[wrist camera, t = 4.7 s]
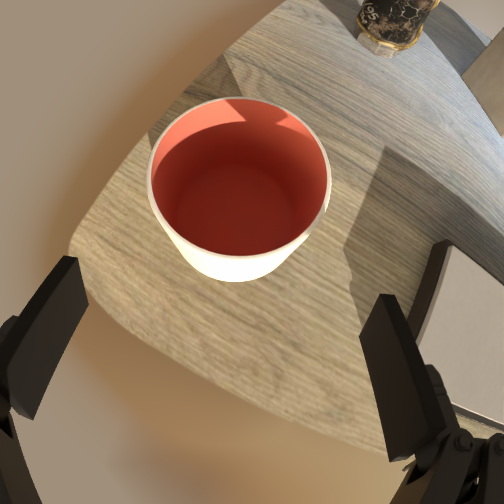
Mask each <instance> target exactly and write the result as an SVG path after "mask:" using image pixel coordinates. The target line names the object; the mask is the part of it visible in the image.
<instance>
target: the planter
mask: <svg viewBox="0 0 504 504" xmlns="http://www.w3.org/2000/svg"><path fill="white" fill-rule="evenodd" d="M461 78H462V79H463V81H464V82H465V83H466V85H467V86H468V87H469V89H470V90H471V92H472V93H473V95H474V96H475V97H476V99H477V100H478V102H479V103H480V105H481V106H482V108H483V109H484V111H485V112H486V114H487V115H488V117H489V118H490V120H491V122H492V123H493V125H494V126H495V128H496V129H497V131H498V132H499V134H500V135H501V137H502V138H504V27H503V28H502V30H501V31H500V32H499V33H498V34H497V35H496V37H495V38H494V39H493V40H492V41H491V42H490V43H489V45H488V46H487V47H486V48H485V49H484V50H483V52H482V53H481V54H480V55H479V56H478V57H477V58H476V60H475V61H474V62H473V63H472V64H471V65H470V66H469V68H468V69H467V70H466V71H465V72H464V73H463V74H462V75H461Z"/></svg>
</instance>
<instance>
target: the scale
mask: <svg viewBox="0 0 504 504" xmlns="http://www.w3.org/2000/svg"><path fill="white" fill-rule="evenodd" d="M407 323H408V325H409V327H410V330H411V332H412V334H413V337H414V339H415V341H416V344H417V346H418V349H419V351H420V354H421V356H422V358H423V361H424V363H425V364H432V365H433V366H434V367H435V368H436V369H437V371H438V372H439V373H440V375H441V378H442V380H443V383H444V387H445V388H446V391H447V395H448V396H449V398H450V401H451V404H452V407H453V409H454V412H455V414H457V415H459V416H462V417H464V418H467V419H469V420H472V421H475V422H477V423H480V424H483V425H485V426H488V427H491V428H493V429H496V430H499V431H502V432H504V284H503V283H502V282H501V281H499V280H498V279H497V278H496V277H495V276H494V275H492V274H491V273H490V272H489V271H488V270H486V269H485V268H484V267H483V266H482V265H480V264H479V263H478V262H477V261H475V260H474V259H473V258H472V257H470V256H469V255H468V254H466V253H465V252H464V251H463V250H461V249H460V248H459V247H457V246H456V245H455V244H453V243H452V242H451V241H450V240H448V239H446V240H444V241H441V242H439V243H436V244H434V245H433V248H432V251H431V254H430V257H429V261H428V264H427V267H426V270H425V273H424V276H423V279H422V281H421V284H420V287H419V290H418V293H417V295H416V298H415V301H414V303H413V306H412V309H411V311H410V314H409V316H408V319H407Z"/></svg>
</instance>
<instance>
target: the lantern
mask: <svg viewBox="0 0 504 504" xmlns="http://www.w3.org/2000/svg"><path fill="white" fill-rule="evenodd" d="M439 2H440V0H364V2H363V4H362V6H361V8H360V11H359V13H358V15H357V17H356V21H357V23H358V26H357V27H356V30H355V34H356V39H357V41H358V42H360V43H361V44H362V45H364V46H365V47H366V48H367V49H369V50H370V51H371V52H372V53H374V54H376V55H379V56H383V57H386V58H392V57H394V56H395V55H397V54H399V53H400V52H401V51H403V50H406V49H408V48H410V47H412V46H413V45H414V44H415V43H416V42H417V41H418V39H419V37H420V35H421V32H422V29H423V23H424V21H425V19H426V17H427V16H428V14H429V12H430V10H432V9H434V8H435V7H436V6H437V5H438V3H439Z"/></svg>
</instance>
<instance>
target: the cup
mask: <svg viewBox="0 0 504 504" xmlns="http://www.w3.org/2000/svg"><path fill="white" fill-rule="evenodd" d="M331 184H332V179H331V169H330V164H329V160H328V157H327V154H326V152H325V149H324V147H323V145H322V143H321V142H320V140H319V138H318V137H317V135H316V134H315V133H314V131H313V130H312V129H311V128H310V127H309V126H308V125H307V124H306V123H305V122H304V121H303V120H302V119H301V118H299V117H298V116H297V115H295V114H294V113H292V112H291V111H289V110H287V109H286V108H284V107H282V106H280V105H277V104H275V103H272V102H269V101H266V100H262V99H258V98H252V97H236V96H235V97H224V98H218V99H213V100H210V101H206V102H204V103H201V104H199V105H196V106H194V107H192V108H190V109H188V110H187V111H185V112H184V113H182V114H181V115H179V116H178V117H177V118H176V119H174V120H173V121H172V122H171V123H170V124H169V125H168V126H167V127H166V128H165V130H164V131H163V132H162V133H161V135H160V136H159V138H158V140H157V141H156V143H155V145H154V147H153V149H152V151H151V154H150V157H149V161H148V166H147V174H146V185H147V193H148V198H149V201H150V204H151V207H152V209H153V211H154V214H155V216H156V217H157V219H158V221H159V222H160V224H161V225H162V227H163V228H164V230H165V231H166V232H167V234H168V235H169V237H170V238H171V240H172V241H173V242H174V244H175V245H176V247H177V248H178V250H179V251H180V252H181V254H182V255H183V256H184V258H185V259H186V260H187V261H188V262H189V263H190V264H191V265H192V266H193V267H194V268H195V269H197V270H198V271H200V272H201V273H203V274H205V275H207V276H209V277H212V278H215V279H218V280H222V281H229V282H242V281H248V280H253V279H256V278H259V277H261V276H263V275H266V274H267V273H269V272H271V271H272V270H274V269H275V268H276V267H277V266H279V265H280V264H281V263H282V262H283V261H284V260H285V259H286V258H287V257H288V256H289V255H290V254H291V253H292V252H293V251H294V250H295V249H296V248H297V247H298V246H299V245H300V244H301V243H302V242H303V241H304V240H305V239H306V238H307V237H308V236H309V235H310V234H311V233H312V232H313V230H314V229H315V228H316V227H317V225H318V224H319V222H320V221H321V219H322V217H323V215H324V213H325V211H326V208H327V205H328V203H329V199H330V194H331Z"/></svg>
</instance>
